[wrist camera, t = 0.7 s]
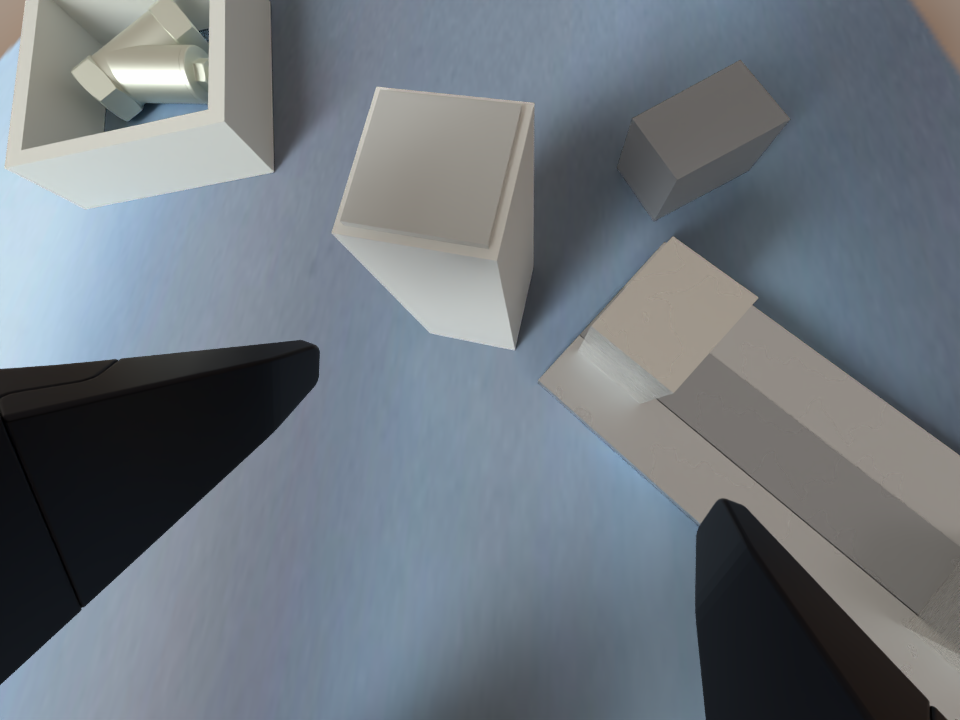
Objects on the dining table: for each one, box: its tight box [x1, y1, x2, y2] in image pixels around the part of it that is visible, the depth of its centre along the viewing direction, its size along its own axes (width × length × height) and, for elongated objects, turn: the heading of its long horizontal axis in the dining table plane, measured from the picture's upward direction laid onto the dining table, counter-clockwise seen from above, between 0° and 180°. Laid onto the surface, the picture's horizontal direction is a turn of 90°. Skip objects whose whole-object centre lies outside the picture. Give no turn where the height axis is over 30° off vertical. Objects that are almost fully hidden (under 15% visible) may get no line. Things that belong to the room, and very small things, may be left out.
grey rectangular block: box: [617, 60, 790, 221], centre depth 22 cm, size 6×4×4 cm, turn 118°
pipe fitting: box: [71, 0, 209, 122], centre depth 28 cm, size 8×4×7 cm
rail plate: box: [538, 237, 960, 720], centre depth 17 cm, size 10×23×6 cm, turn 48°
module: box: [332, 87, 534, 350], centre depth 18 cm, size 5×5×12 cm
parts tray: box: [5, 0, 274, 210], centre depth 27 cm, size 14×14×4 cm
